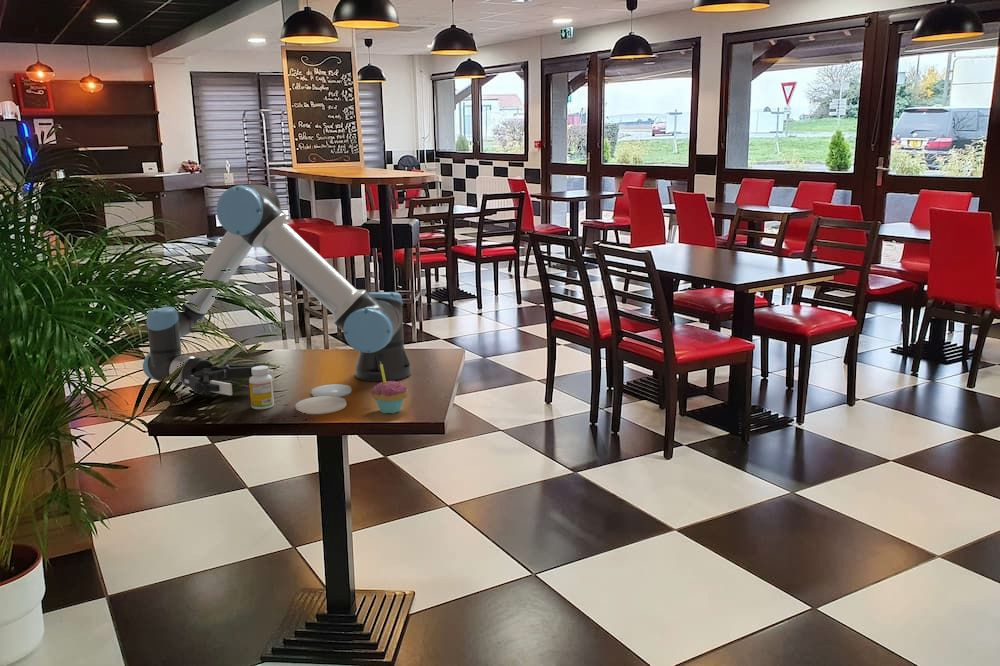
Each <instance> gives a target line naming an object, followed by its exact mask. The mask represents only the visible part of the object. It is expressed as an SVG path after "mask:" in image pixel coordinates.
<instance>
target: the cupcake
mask: <svg viewBox="0 0 1000 666" xmlns="http://www.w3.org/2000/svg"><path fill="white" fill-rule="evenodd" d="M380 364H381V362H380ZM380 368H381V373H382V378H383V381H380V382H378V383H377V384H375V385H374V386H373V388H371V391H370V394H371V397H372V398H373V399H374V400H375V401H376V404H377V406H378V408H379V411H380V412H381V413H382V414H386V413H392V414H396V412H397V413H399V412H400V411H401V408H402V405H403V402H404V399H406V398H407V397H408V395H409V390H408V387H407V385H405V384H404V383H402V382H400V381H398V380H392V381H386V379H385V374H384V369H383V364H381V365H380Z"/></svg>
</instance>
